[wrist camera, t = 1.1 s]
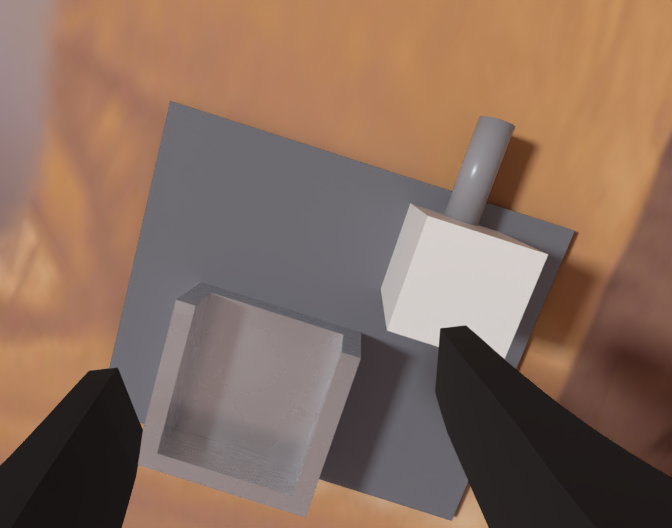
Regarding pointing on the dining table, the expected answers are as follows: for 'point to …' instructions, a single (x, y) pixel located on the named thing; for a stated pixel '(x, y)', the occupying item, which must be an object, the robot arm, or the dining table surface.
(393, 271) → the cable plug
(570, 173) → the dining table surface
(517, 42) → the dining table surface
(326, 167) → the mat
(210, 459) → the end holder
